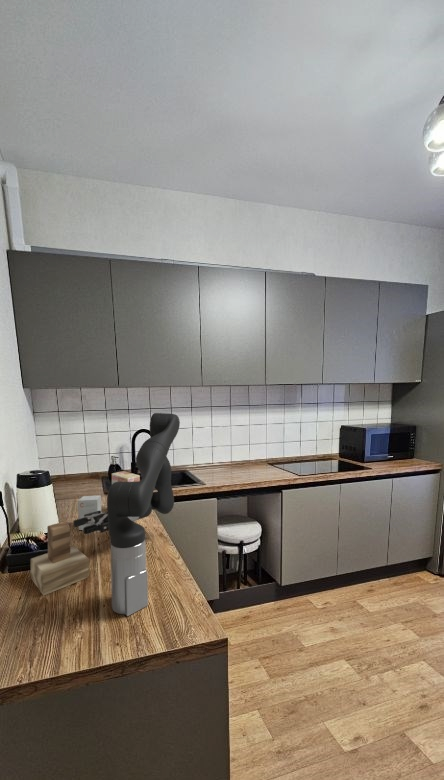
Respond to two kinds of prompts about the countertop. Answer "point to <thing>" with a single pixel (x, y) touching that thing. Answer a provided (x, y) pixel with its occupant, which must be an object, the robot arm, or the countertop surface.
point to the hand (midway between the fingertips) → (78, 527)
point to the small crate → (58, 542)
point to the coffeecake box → (125, 477)
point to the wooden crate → (59, 571)
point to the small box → (88, 507)
